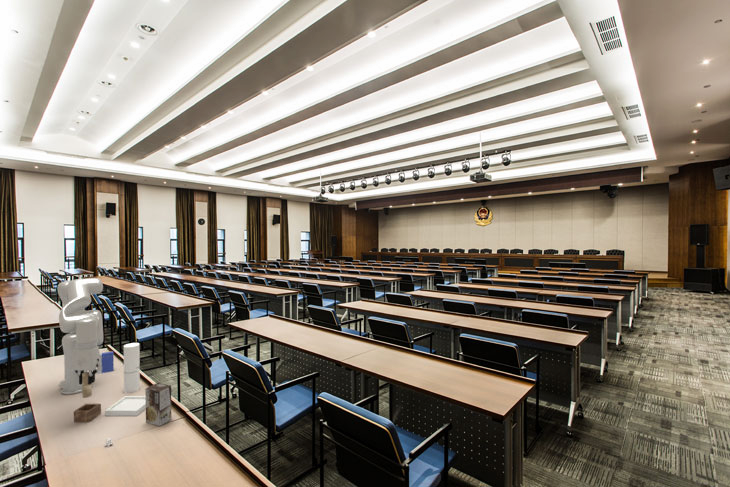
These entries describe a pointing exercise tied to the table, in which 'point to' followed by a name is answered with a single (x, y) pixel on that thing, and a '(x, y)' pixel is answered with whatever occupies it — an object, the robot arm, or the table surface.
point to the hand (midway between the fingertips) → (87, 382)
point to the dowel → (86, 386)
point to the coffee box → (158, 404)
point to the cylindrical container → (131, 367)
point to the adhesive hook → (108, 442)
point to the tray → (127, 406)
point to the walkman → (106, 362)
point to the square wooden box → (87, 412)
